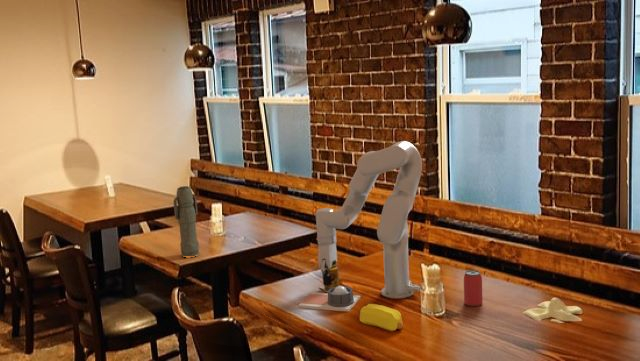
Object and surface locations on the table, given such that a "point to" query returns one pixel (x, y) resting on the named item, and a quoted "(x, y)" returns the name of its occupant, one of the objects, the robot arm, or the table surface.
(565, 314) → the cloth
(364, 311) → the faceted yellow knobbed lump
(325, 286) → the condiment
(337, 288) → the dome
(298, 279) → the table surface
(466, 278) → the beer can
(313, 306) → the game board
